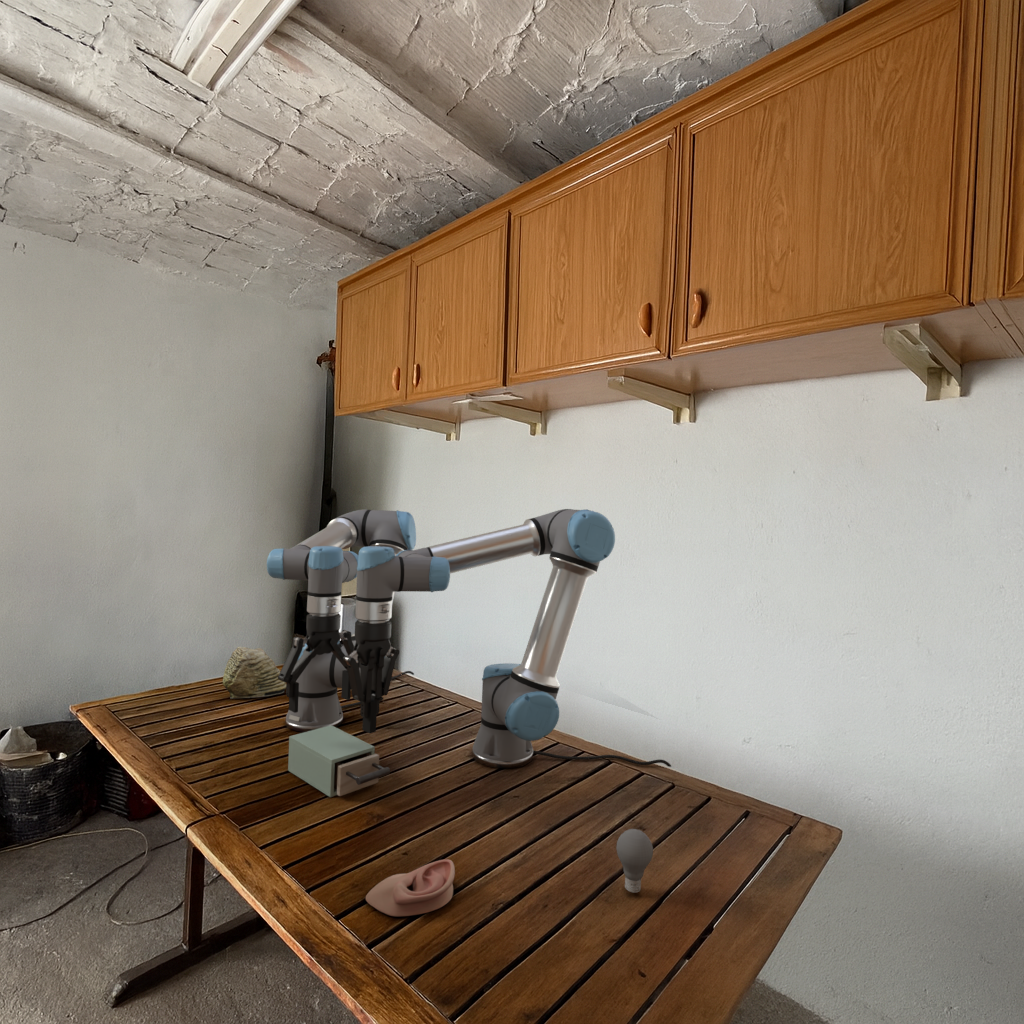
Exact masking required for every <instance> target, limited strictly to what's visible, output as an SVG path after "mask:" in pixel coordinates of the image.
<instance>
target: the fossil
mask: <svg viewBox="0 0 1024 1024" xmlns="http://www.w3.org/2000/svg"><path fill="white" fill-rule="evenodd" d="M280 672H281V669H279V668H278V667H277V665H276V663H275V662H274V660H273V659H272V658H271V657H270V656H269V655H268V654H267V653H266V652H265V650H264V649H263V648H260V647H258V648H251V647H247V646H246V647H245V646H238V647H237V648H236V649H235V650H233V651H232V653H231V656H230V657H229V659H228V660H227V663H226V666H225V668H224V671H223V675H222V676H223V677H222V685H223V687H224V688H225V690H226V691H228V693H229V698H230V699H250V698H264V697H271V696H275V695H281V694H284V693H285V692H286V682H283V681H281V680H279V679H278V676H279V674H280Z"/></svg>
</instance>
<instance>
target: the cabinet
mask: <svg viewBox="0 0 1024 1024" xmlns="http://www.w3.org/2000/svg"><path fill="white" fill-rule="evenodd" d="M375 748H376V747H375V746H374V745H372V744H370V743H368V742H366V741H364V740H362V739H360V738H358V737H356V736H354V735H352V734H350V733H348V732H346V731H345V730H342V729H340V728H338V727H334V726H332V725H330V726H326V727H323V728H319V729H315V730H311V731H308V732H299V733H297V734H293V735H289V736H288V760H287V761H288V763H287V771H288V772H289V773H291V774H292V775H295V776H296V777H297V778H299V779H300V780H302V781H304V782H305V783H306V784H309V785H310V786H312V787H313V788H314V789H317V790H318V791H320V792H321V793H323V794H324V795H326V796H327V797H329V798H332V797H335V796H338V795H337V790H336V789H334V772H335V763H336V762H339V761H342V760H346V759H349V758H352V757H355V756H358V755H361V754H364V753H370V755H373V754H376V753H375V752H376V751H375V750H376V749H375Z"/></svg>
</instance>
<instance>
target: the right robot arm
mask: <svg viewBox="0 0 1024 1024" xmlns="http://www.w3.org/2000/svg"><path fill="white" fill-rule="evenodd" d="M615 544H616V533H615V529H614V527H613V525H612V522H611V521H610V520H609V519H608V518H607V516H606V515H604V514H602V513H600V512H598V511H595V510H590V509H574V508H573V509H572V508H563V509H558V510H555V511H552V512H549V513H545V514H542V515H538V516H536V517H535V516H534V517H532V518H527V519H525V520H524V522H523V524H519V525H516V526H511V527H507V528H501V529H498V530H493V531H490V532H489V531H488V532H486V533H485V532H484V533H480V534H476V535H472V536H468V537H463V538H459V539H456V540H455V539H454V540H451V541H446V542H442V543H438V544H434V545H429V546H427V547H422V548H417V549H413V550H404V551H401V552H399V553H398V554H397V555H396V556H395V554H394V549H393V548H391V547H380V546H367V547H360V549H359V551H358V554H357V555H358V566H357V577H356V588H355V589H356V592H355V593H356V595H355V611H354V612H355V613H354V617H355V619H356V621H355V622H354V633H355V640H356V643H355V646H354V649H353V650H354V651H353V652H352V653H351V654H350V655H349V656H344V657H343V661H344V662H345V664H346V666H347V669H348V675H349V680H350V686H351V697H352V699H353V700H356V701H357V702H360V701H361V704H360V712H359V713H360V717H361V718H362V727H361V728H362V731H364V732H366V733H368V734H373V733H374V734H375V733H376V732H377V715H379V713H380V702H382V701H383V700H384V696H387V695H388V694H389V690H390V686H391V682H392V680H391V678H392V677H393V673H394V668H395V664H396V660H397V659H398V657H399V655H400V649H397V648H395V647H393V646H392V645H391V644H392V643H391V641H390V639H391V637H392V621H391V620H389V619H392V617H393V604H392V595H393V592H397V593H401V592H417V593H418V592H423V593H424V592H430V593H435V592H443V591H446V590H447V589H448V587H449V584H450V579H451V574H454V573H459V572H463V571H466V570H470V569H475V568H479V567H482V566H487V565H490V564H494V563H499V562H503V561H506V560H510V559H514V558H519V557H522V556H527V555H532V556H533V557H540V556H543V555H549V556H548V557H549V560H550V562H551V565H552V568H551V572H550V575H549V578H548V581H547V584H546V587H545V590H544V593H543V596H542V599H541V602H540V604H539V605H540V606H539V609H538V612H537V614H536V617H535V621H534V624H533V626H532V630H531V632H530V636H529V638H528V642H527V645H526V648H525V651H524V654H523V657H522V659H521V663H511V662H508V663H506V662H505V663H494V664H489V665H485V667H484V668H483V673H482V678H481V681H482V685H481V687H482V688H481V712H480V718H481V720H480V725H479V728H478V731H477V734H476V737H475V740H474V742H473V745H472V754H471V755H472V756H471V757H472V758H473V760H474V761H476V762H477V763H479V764H481V765H484V766H487V767H490V768H496V769H516V768H520V767H523V766H527V765H529V764H530V763H531V762H532V761H533V758H534V755H539V756H543V757H548V758H549V757H550V758H554V759H559V760H567V761H593V760H601V759H615V760H621V761H624V762H627V763H631V764H635V765H639V766H650V765H654V764H664V765H665V766H667V767H669V768H671V767H672V764H671V763H670V762H669V761H667V760H665V759H654V760H649V761H639V760H636V759H635V760H634V759H631V758H627V757H625V756H621V755H617V754H601V755H592V756H569V755H558V754H554V753H550V752H545V751H538V750H534V747H533V743H532V742H534V741H538V740H541V739H543V738H545V737H547V736H549V734H550V733H552V732H553V731H554V729H555V728H556V726H557V724H558V723H559V718H560V707H559V704H558V701H557V696H558V694H559V690H560V687H561V684H560V682H559V680H558V678H557V675H558V672H559V669H560V665H561V662H562V659H563V656H564V654H565V651H566V647H567V644H568V641H569V638H570V635H571V631H572V627H573V626H574V622H575V619H576V616H577V613H578V610H579V606H580V604H581V601H582V597H583V594H584V591H585V588H586V585H587V582H588V579H589V578H590V577H592V576H594V575H596V574H597V573H598V570H599V566H600V563H601V562H602V561H604V560H605V559H607V558H608V557H610V555H611V554H612V552H613V551H614V548H615ZM357 658H358V659H359V661H360V665H359V666H360V668H361V674H360V672H359V667H358V664H357V663H358V660H357Z"/></svg>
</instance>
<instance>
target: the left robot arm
mask: <svg viewBox="0 0 1024 1024" xmlns="http://www.w3.org/2000/svg"><path fill="white" fill-rule="evenodd" d="M416 543H417V527H416V523H415V519H414V516H413V515H412V514H411V512H409V511H401V510H386V509H385V510H381V509H380V510H379V509H367V508H366V509H365V508H363V509H357V510H353V511H349V512H347V513H344V514H341V515H339V516H337V517H334V518H333V519H332V520H330V521H329V522H328V524H327V525H326V527H325V528H323V529H321V530H320V531H318V532H316V533H314V534H313V535H311V536H310V537H307V538H306V539H304V540H303V541H301V542H299V543H298V544H296V545H294V546H292V547H290V548H284V547H282V548H274V549H272V550H271V551H270V552H269V554H268V556H267V559H266V571H267V573H268V575H269V576H270V578H273V579H278V580H279V579H280V580H282V581H283V580H284V581H285V580H287V581H288V580H289V581H308V584H307V599H306V600H307V602H306V612H307V613H308V614H307V615H306V636H305V637H299V636H294V637H293V638H292V644H291V646H292V647H290V651H288V652H289V653H288V654H287V656H286V659H285V661H284V663H283V665H282V667H281V669H280V674H279V676H278V679H279V680H281V681H283V682H286V690H285V696H286V697H287V698H288V711H287V713H286V715H285V726H286V728H287V729H289V730H291V731H294V732H295V731H296V732H300V733H304V732H308V731H311V730H315V729H319V728H323V727H326V726H330V725H332V726H334V727H336V728H338V727H339V726H340V725H342V723H343V722H344V714H343V709H347V708H352V707H356V706H360V705H361V701H357V702H353V703H348V704H344V705H341V702H340V699H339V695H338V689H341V695H340V696H341V697H340V698H342V699H343V700H346V701H350V700H351V697H352V692H351V686H350V680H349V675H348V669H347V666H346V664H345V662H344V661H343V657H344V656H349V655H350V654H351V653H352V652H353V651H354V650H353V649H354V646H355V643H356V640H355V632H353V634H352V632H351V631H349V630H346V629H342V630H341V631H340V629H341V619H342V617H341V614H340V612H341V611H342V610H341V609H342V590H343V589H342V588H343V584H345V583H349V582H352V581H353V580H355V579H357V566H358V555H359V554H357V553H356V552H355V551H351V550H347V549H350V548H353V547H358V548H363V547H367V546H380V547H391V548H393V549H394V554H395V556H396V555H397V554H398V553H399V552H401V551H404V550H415V547H416ZM395 594H396V593H395V592H393V595H392V605H393V603H394V598H395ZM390 619H391V618H390ZM390 619H389V620H390ZM390 621H391V620H390ZM340 640H341V641H340ZM341 642H342V644H341ZM357 660H358V663H357V664H358V667H359V672H360V674H361V668H360V666H359V665H360V661H359V659H358V658H357ZM401 674H402V675H401ZM406 674H411V675H412V676H414V675H415V673H414V672H413V671H411V670H406V671H403V672H401V673H399V674H397V675H394V676H392V678H391V681H393V680H395V679H398V678H400V677H402V676H404V675H406Z"/></svg>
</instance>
